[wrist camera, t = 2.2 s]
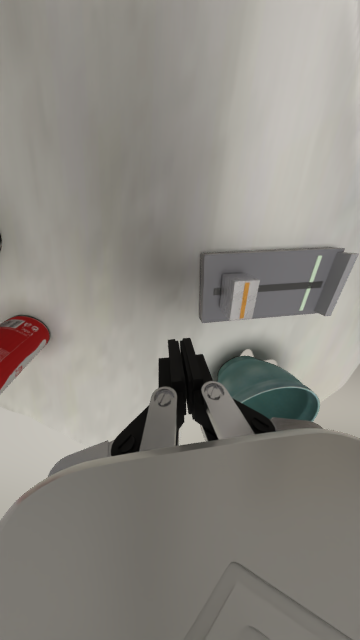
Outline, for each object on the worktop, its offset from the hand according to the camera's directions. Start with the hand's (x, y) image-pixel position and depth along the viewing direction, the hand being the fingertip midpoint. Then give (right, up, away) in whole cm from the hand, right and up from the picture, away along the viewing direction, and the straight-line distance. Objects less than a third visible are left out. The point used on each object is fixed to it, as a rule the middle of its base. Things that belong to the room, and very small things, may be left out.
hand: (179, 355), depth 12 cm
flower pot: (+13, -8, +23) cm, 27 cm away
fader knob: (+7, +7, +11) cm, 15 cm away
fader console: (+13, +8, +14) cm, 21 cm away
